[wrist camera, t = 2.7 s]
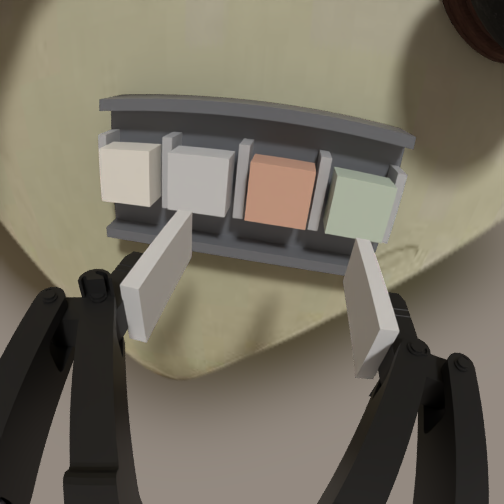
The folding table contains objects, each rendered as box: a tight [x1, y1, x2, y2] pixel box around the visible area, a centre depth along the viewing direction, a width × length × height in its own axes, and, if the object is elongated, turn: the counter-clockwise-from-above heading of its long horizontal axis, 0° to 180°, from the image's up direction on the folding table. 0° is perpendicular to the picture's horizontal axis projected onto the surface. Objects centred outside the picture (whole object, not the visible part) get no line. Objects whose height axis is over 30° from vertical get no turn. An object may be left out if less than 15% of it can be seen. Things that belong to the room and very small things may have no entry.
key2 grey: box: [167, 146, 235, 217], centre depth 24 cm, size 4×4×2 cm
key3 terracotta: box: [244, 154, 316, 230], centre depth 24 cm, size 4×4×2 cm
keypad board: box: [98, 94, 416, 276], centre depth 26 cm, size 25×13×4 cm, turn 84°
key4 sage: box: [323, 167, 398, 243], centre depth 23 cm, size 4×4×2 cm
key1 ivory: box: [99, 142, 162, 207], centre depth 24 cm, size 4×4×2 cm
